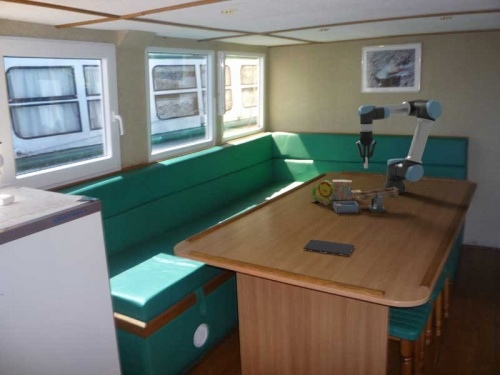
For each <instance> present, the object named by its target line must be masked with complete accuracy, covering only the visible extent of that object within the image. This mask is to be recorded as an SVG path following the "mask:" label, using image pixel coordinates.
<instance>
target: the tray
mask: <svg viewBox="0 0 500 375" xmlns="http://www.w3.org/2000/svg"><path fill="white" fill-rule="evenodd" d="M337 204H341V205H339V206H338V205H337ZM360 207H361V206H360V204H359V203H358V202H357V201H356V200H340V201H339V200H333V201H332V209H333V211H334V212H335V214H352V213H353V214H357V213H360V209H361V208H360Z"/></svg>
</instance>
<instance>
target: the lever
mask: <svg viewBox="0 0 500 375" xmlns="http://www.w3.org/2000/svg"><path fill="white" fill-rule="evenodd" d="M372 190H373V191H372ZM372 190H368V191H361V190H360V189H355V190H354V189H353V190H352V191H351V192H352V196H353V195H354V197H355V198H356V199H357V200H358V201H365V200H371V199H373V198H377V193H383V198H386V197H388V198H390V199H396V198H399V195H400V194H399V189H397V188H395V187H392V188H386V189H383V188H380V189H372Z"/></svg>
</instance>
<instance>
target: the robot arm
mask: <svg viewBox="0 0 500 375" xmlns="http://www.w3.org/2000/svg"><path fill="white" fill-rule="evenodd" d="M442 113H443V106H442V105H441V103H440V101H438V100H436V99H435V100H433V99H415V100H407V101H403V102H401V103H392V104H380V105H372V104H366V105H365V104H364V105H361V106H360V107H359V108H358V110H357V114H358V117H359V122H360V123H359V130H360V131H359V140H358V141H356V142H355V145H356V148H357V150H358V155H359V157H360V158H362V163H363V168H364V169H368V168H369V163H370V158H372V157H373V154H374V150H375V147H376V145H377V143H378V142H377V141H375V140H374V138H373V132H374V131H373V130H374V129H373V128H374V125H373V124H374V121H378V120H386V119H389V117H392V116H393V117H394V116H403V117H414V118H416V120H417V125H416V127H415V130H414V134H413V137H412V140H411V144H410V147H409V151H408V154H407V156H406V157H404V158H390V159H388V160H387V165H386V178H385V179H386V181H385V182H384V186H383V188H382V189H386V188H392V187H395V188H397V189H399V195H401V194H402V195H403V194H406V193H407V187H406V184H405V181H408V182H413V183H415V182H418V181H419V180H421V179H422V177H423V175H424V172H425V170H424V167H423V162H422V159H423V158H422V157H423V154H424V151H425V148H426V144H427V141H428V137H429V136H430V135H429V134H430V131H431V128H432V125H434V124H435V122H436V120H437V119H439V118H440V117H441V116H442ZM361 145H362V148H361Z"/></svg>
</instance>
